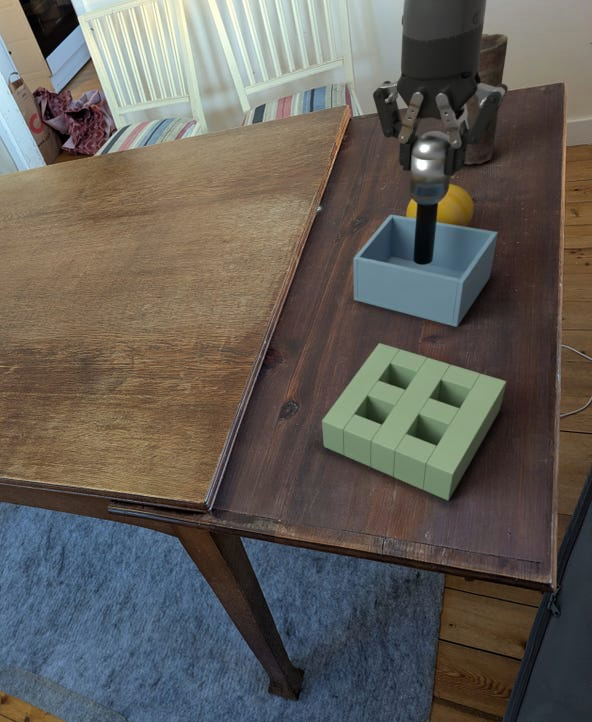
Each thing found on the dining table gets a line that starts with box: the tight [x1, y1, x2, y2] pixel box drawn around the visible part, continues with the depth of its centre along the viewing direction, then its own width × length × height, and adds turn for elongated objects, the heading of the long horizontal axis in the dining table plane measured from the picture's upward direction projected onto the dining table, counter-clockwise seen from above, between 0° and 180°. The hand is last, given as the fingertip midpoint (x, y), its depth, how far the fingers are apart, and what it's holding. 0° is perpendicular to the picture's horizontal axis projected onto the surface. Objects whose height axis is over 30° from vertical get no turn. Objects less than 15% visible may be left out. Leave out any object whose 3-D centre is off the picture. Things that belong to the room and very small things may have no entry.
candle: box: [445, 33, 508, 165], centre depth 99 cm, size 8×7×20 cm
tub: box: [352, 214, 499, 328], centre depth 84 cm, size 14×11×8 cm
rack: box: [321, 342, 507, 501], centre depth 70 cm, size 14×14×5 cm
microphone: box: [408, 130, 451, 265], centre depth 77 cm, size 4×4×18 cm
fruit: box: [405, 183, 475, 227], centre depth 91 cm, size 9×8×8 cm
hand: (430, 169), depth 74 cm, fingers closed on microphone, 4 cm apart
